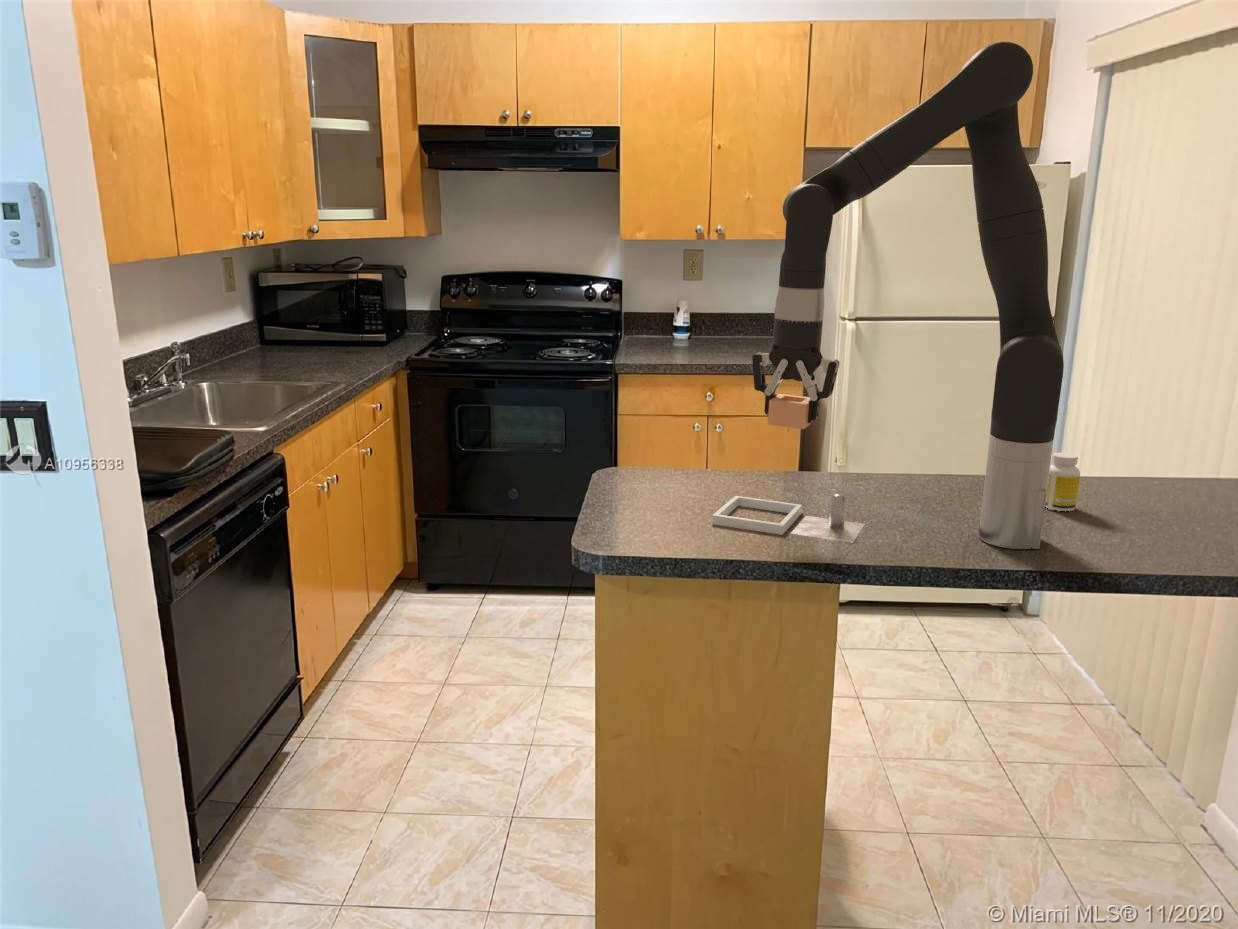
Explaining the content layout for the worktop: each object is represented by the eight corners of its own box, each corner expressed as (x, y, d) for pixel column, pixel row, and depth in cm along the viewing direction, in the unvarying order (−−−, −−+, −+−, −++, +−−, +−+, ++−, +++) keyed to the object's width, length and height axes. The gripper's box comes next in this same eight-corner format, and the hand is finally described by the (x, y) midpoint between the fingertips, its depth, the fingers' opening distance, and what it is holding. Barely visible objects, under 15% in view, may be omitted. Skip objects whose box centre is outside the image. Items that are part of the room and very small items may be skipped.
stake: (864, 529, 154) (867, 492, 152) (852, 548, 145) (855, 509, 143) (805, 521, 158) (807, 484, 156) (790, 539, 149) (792, 501, 148)
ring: (813, 421, 152) (815, 397, 151) (804, 429, 147) (806, 404, 145) (778, 417, 154) (779, 393, 153) (767, 424, 149) (769, 400, 148)
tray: (801, 518, 159) (802, 504, 159) (782, 540, 149) (783, 525, 148) (735, 509, 164) (735, 495, 164) (712, 529, 154) (712, 515, 153)
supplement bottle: (1081, 509, 164) (1089, 456, 162) (1062, 514, 162) (1069, 460, 159) (1054, 501, 169) (1061, 449, 166) (1035, 506, 166) (1042, 453, 164)
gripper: (849, 317, 146) (839, 420, 151) (762, 310, 152) (755, 410, 156) (839, 322, 139) (829, 430, 144) (747, 315, 145) (741, 419, 150)
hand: (790, 419), depth 150 cm, fingers closed on ring, 6 cm apart
